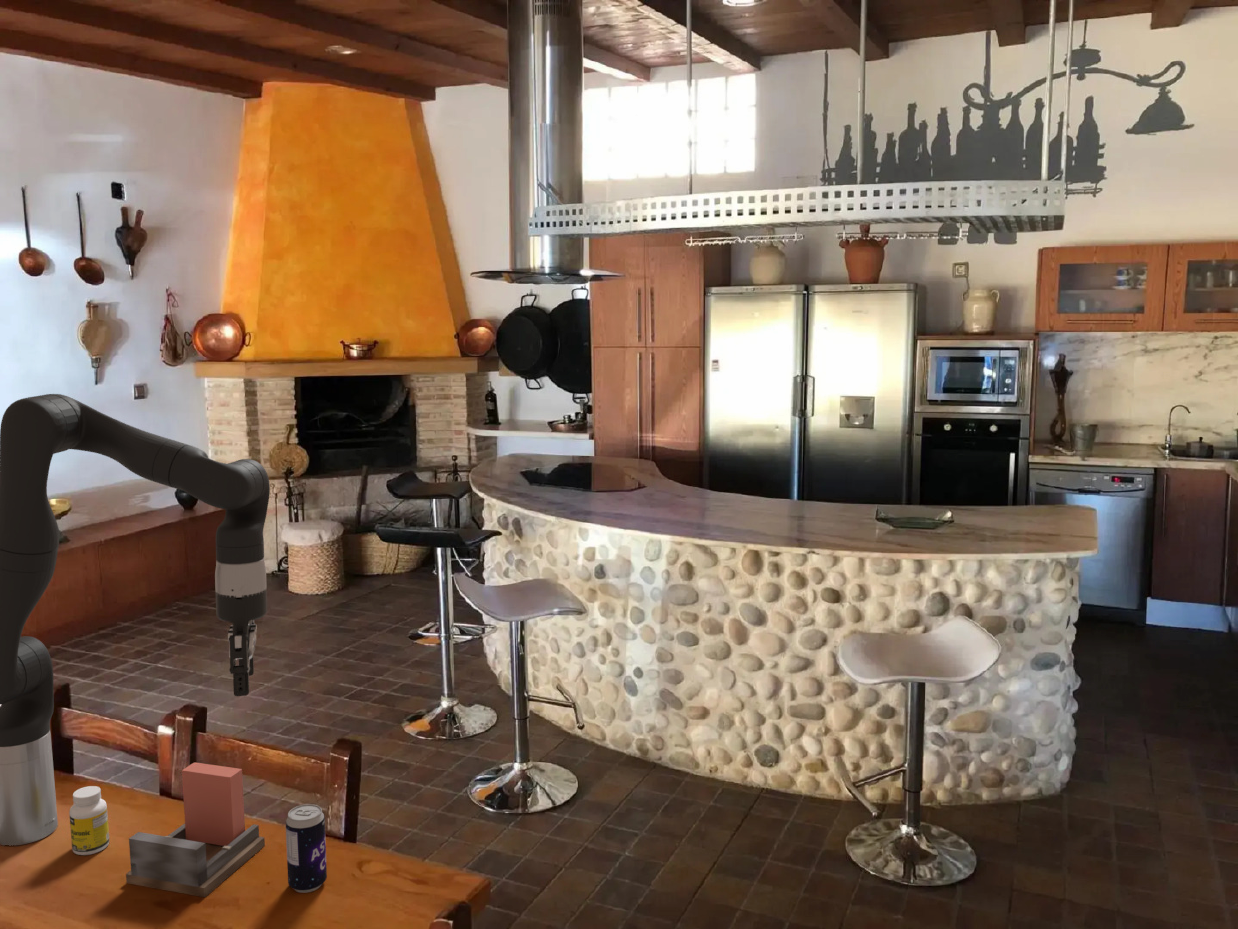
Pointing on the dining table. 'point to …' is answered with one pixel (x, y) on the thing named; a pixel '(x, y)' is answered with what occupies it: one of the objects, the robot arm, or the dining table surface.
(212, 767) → the pink upright block
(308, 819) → the beverage can
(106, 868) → the dining table surface
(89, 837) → the supplement bottle
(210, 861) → the holder
